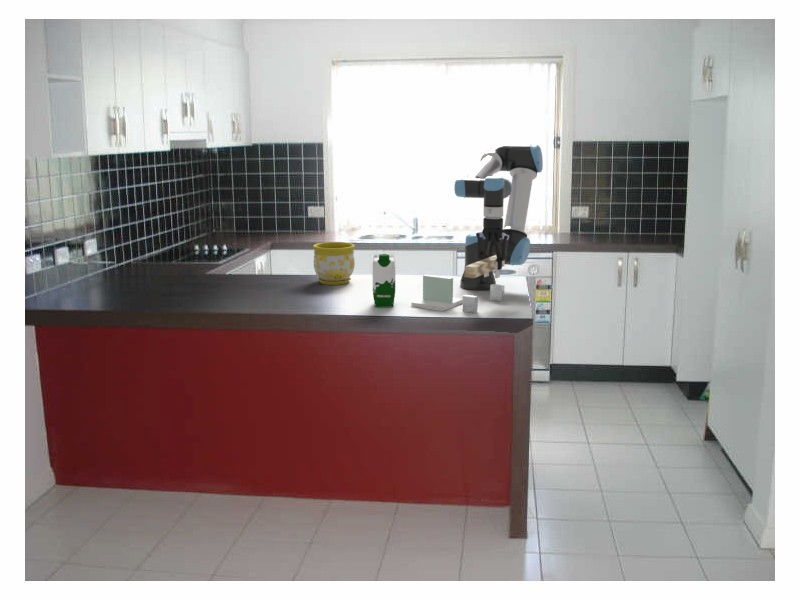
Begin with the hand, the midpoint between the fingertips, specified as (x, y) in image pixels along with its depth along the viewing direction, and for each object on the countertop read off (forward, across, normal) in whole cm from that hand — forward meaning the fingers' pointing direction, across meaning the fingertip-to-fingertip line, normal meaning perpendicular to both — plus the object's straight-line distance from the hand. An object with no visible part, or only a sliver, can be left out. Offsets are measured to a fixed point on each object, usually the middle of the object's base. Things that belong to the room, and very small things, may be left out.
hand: (491, 276), depth 322 cm
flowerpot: (+11, -75, -3) cm, 76 cm away
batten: (-3, 0, -6) cm, 7 cm away
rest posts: (+10, 0, -7) cm, 12 cm away
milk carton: (+10, -33, -27) cm, 44 cm away
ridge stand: (+10, -16, -15) cm, 24 cm away
